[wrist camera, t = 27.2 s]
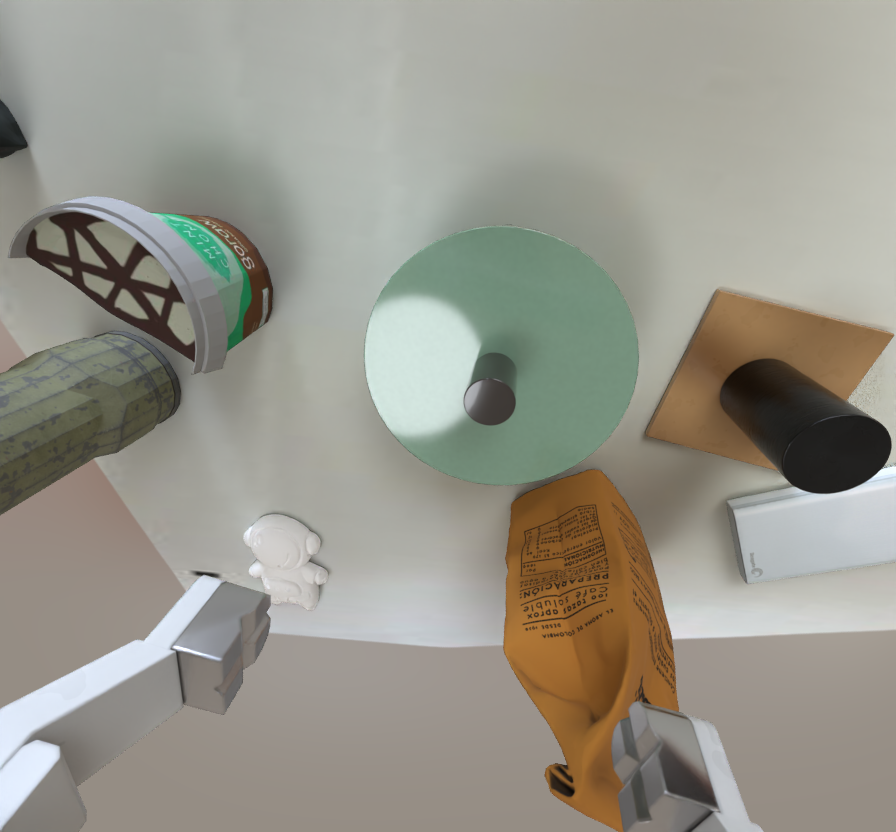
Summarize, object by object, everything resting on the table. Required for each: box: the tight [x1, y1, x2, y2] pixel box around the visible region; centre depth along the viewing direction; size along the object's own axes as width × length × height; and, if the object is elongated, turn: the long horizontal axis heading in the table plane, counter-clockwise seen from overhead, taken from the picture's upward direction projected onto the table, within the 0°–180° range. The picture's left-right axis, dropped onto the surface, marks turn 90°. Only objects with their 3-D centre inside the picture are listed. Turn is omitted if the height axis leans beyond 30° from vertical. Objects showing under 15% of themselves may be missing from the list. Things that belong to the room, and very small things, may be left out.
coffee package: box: [503, 470, 679, 832], centre depth 29 cm, size 10×12×22 cm
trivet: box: [645, 290, 894, 471], centre depth 30 cm, size 11×11×1 cm
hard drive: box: [726, 466, 896, 584], centre depth 34 cm, size 2×8×12 cm
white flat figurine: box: [244, 514, 328, 611], centre depth 44 cm, size 9×12×3 cm
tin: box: [720, 358, 891, 494], centre depth 26 cm, size 5×5×8 cm
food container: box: [8, 196, 273, 375], centre depth 28 cm, size 12×6×10 cm, turn 56°
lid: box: [364, 226, 639, 485], centre depth 24 cm, size 16×16×5 cm
